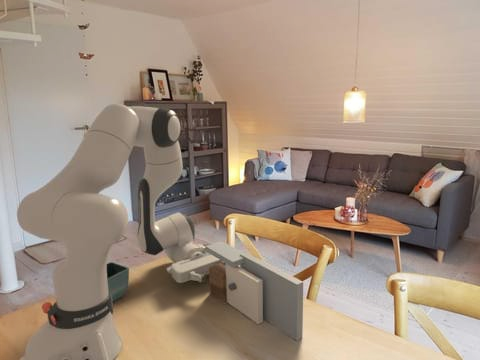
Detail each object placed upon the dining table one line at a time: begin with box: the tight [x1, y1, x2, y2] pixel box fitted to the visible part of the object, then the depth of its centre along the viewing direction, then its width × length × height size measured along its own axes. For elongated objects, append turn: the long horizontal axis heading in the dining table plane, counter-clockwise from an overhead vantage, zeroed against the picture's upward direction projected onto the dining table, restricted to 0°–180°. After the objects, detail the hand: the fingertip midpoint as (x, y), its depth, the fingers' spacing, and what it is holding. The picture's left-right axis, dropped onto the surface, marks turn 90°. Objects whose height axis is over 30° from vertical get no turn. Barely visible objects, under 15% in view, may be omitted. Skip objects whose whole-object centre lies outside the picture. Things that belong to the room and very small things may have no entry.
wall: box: [205, 240, 304, 341], centre depth 101 cm, size 6×34×15 cm, turn 37°
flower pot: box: [107, 261, 130, 302], centre depth 110 cm, size 9×9×9 cm
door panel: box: [225, 263, 264, 325], centre depth 100 cm, size 3×14×12 cm, turn 37°
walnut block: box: [208, 263, 228, 305], centre depth 109 cm, size 4×7×9 cm, turn 37°
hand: (216, 274), depth 111 cm, fingers open, 8 cm apart
